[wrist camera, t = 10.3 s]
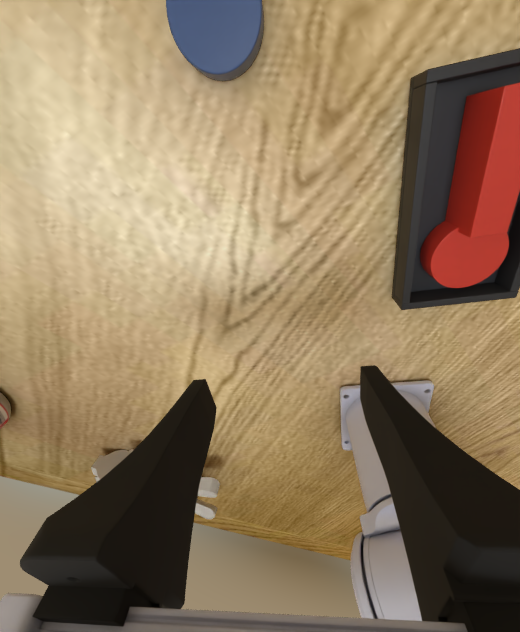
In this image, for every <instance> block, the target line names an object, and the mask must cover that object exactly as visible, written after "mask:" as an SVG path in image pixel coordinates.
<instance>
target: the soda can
mask: <svg viewBox="0 0 520 632" xmlns="http://www.w3.org/2000/svg"><path fill="white" fill-rule="evenodd" d="M10 415H11V406H10V403H9V401H8V400H7V398H6V397H5V396H4V395H3V394H2V393H1V392H0V429H1V428H2V427H3V426H4V425H5V424H6V423H7V422H8V420H9V419H10Z"/></svg>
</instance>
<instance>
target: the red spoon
mask: <svg viewBox="0 0 520 632" xmlns="http://www.w3.org/2000/svg"><path fill="white" fill-rule="evenodd" d="M519 191H520V83H516V84H511V85H507V86H503V87H499V88H495V89H491V90H487V91H484V92H480V93H476V94H472V95H469V96H467V98H466V103H465V109H464V115H463V121H462V126H461V132H460V138H459V144H458V149H457V155H456V161H455V167H454V172H453V178H452V184H451V190H450V195H449V201H448V207H447V213H446V218H445V221H444V222H442V223H441V224H439V225H438V226H437V227H435V228H434V229H433V230H432V231H431V232H430V233H429V235H428V236H427V237H426V239H425V241H424V243H423V245H422V248H421V252H420V262H421V265H422V267H423V269H424V270H425V271H426V272H427V273H428V274H429V275H430V276H431V277H432V278H434V279H435V280H436V281H437V282H438V283H440V284H441V285H443V286H446V287H450V288H463V287H468V286H472V285H474V284H477V283H479V282H481V281H483V280H484V279H486V278H487V277H489V276H490V275H491V274H493V273H494V272H495V271H496V270H497V269H498V268H499V266H500V265H501V264H502V262H503V261H504V259H505V257H506V255H507V252H508V248H509V238H508V234H507V232H508V229H509V225H510V222H511V219H512V215H513V212H514V208H515V205H516V202H517V198H518V195H519Z"/></svg>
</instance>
